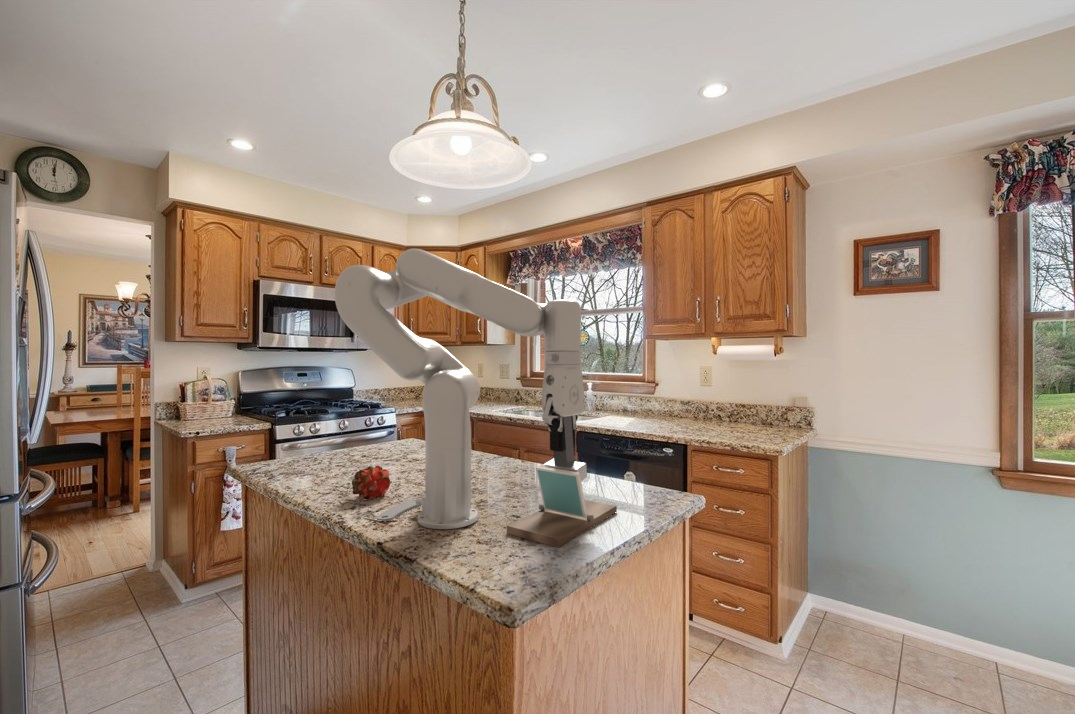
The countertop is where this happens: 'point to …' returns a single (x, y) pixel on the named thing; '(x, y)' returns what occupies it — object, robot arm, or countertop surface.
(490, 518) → the countertop surface
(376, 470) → the dragon fruit
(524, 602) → the countertop surface
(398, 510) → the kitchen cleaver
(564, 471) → the tile
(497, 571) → the countertop surface
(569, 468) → the rubber stamp
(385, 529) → the countertop surface
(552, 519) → the board
